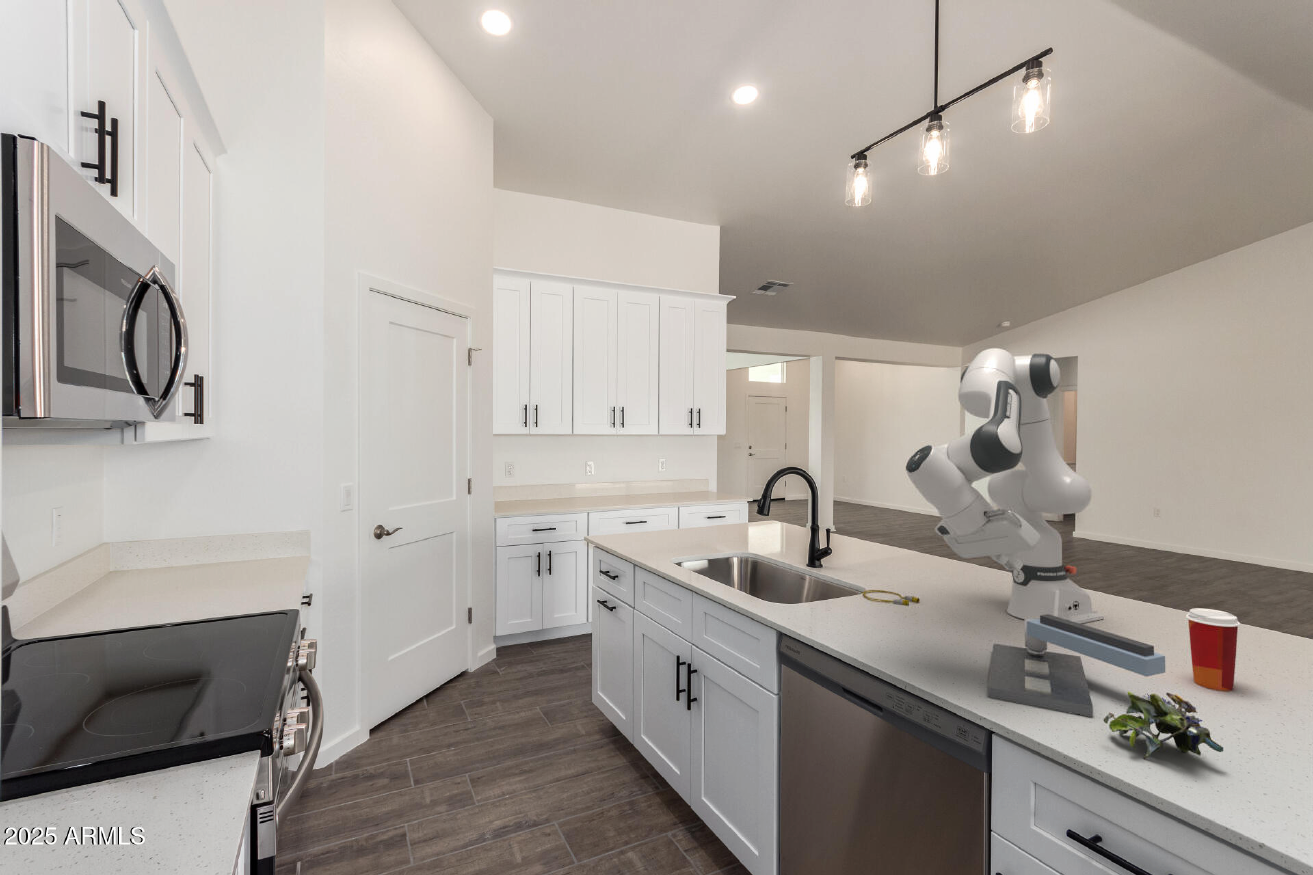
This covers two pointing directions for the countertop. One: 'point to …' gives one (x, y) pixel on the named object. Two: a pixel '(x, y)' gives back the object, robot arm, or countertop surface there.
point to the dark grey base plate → (1039, 679)
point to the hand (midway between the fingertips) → (1016, 567)
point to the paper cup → (1213, 647)
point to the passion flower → (1163, 723)
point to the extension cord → (895, 601)
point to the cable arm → (1093, 644)
